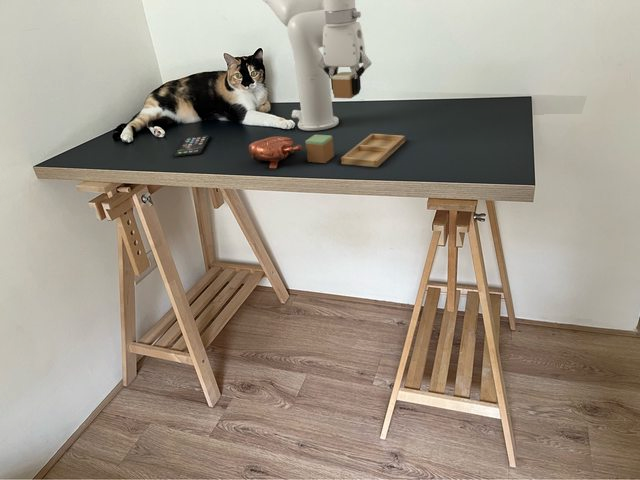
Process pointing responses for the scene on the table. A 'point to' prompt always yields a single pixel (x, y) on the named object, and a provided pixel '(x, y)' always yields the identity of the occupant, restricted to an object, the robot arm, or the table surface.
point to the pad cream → (343, 85)
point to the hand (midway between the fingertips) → (346, 92)
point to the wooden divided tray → (373, 150)
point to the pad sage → (319, 148)
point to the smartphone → (192, 145)
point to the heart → (273, 149)
